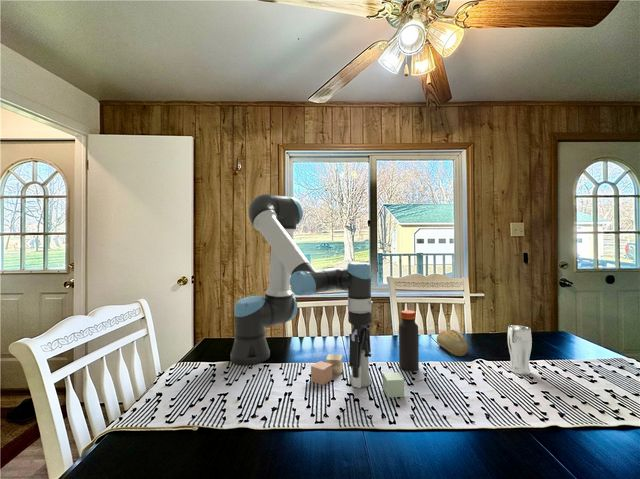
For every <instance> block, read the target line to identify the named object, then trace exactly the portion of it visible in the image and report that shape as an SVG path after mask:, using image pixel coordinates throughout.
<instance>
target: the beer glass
mask: <svg viewBox="0 0 640 479" xmlns="http://www.w3.org/2000/svg"><path fill="white" fill-rule="evenodd" d="M531 329H532V328H530V327H528V326H525V325H518V324H511V325H508V326H507V346H508V352H509V355H510V363H509V368H508V369H509V371H510V372H512V373H514V374H516V375H520V376H521V375H522V376H527V375H528V376H529V375H530V374H531V368H530V357H531V352H532V346H533V345H532V343H533V341H532V340H533V338H532V330H531Z"/></svg>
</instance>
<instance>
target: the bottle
mask: <svg viewBox="0 0 640 479" xmlns="http://www.w3.org/2000/svg"><path fill="white" fill-rule="evenodd" d="M400 313H401V314H400V315H401V316H400V317H401V322H400V323H399V324H398V367H399V368H400V369H401V370H403V371H408V372H415V371H418V370H419V367H420V366H419V364H420V363H419V359H420V358H419V357H420V356H419V353H420V352H419V325H418V324H417V323H416V311H415V310H410V309H409V310H408V309H405V310H401V311H400Z"/></svg>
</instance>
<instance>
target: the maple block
mask: <svg viewBox="0 0 640 479" xmlns="http://www.w3.org/2000/svg"><path fill="white" fill-rule="evenodd" d="M325 363H329V364H332V375H339V376H341V375H342V371H343V354H337V353H335V354H332V353H328V354H327V356H326V359H325Z"/></svg>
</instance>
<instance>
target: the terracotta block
mask: <svg viewBox="0 0 640 479" xmlns="http://www.w3.org/2000/svg"><path fill="white" fill-rule="evenodd" d="M310 371H311V372H310V374H311V375H310V381H311V382H313V383H316V384H318V385H321V386H324V385H326V384H327V383H329V382H330V381H332V380H333V374H332V364H329V363H326V361H323V360H322V361H321V360H319V361H318V362H315V363H313V364H312V365H311V366H310Z"/></svg>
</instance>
